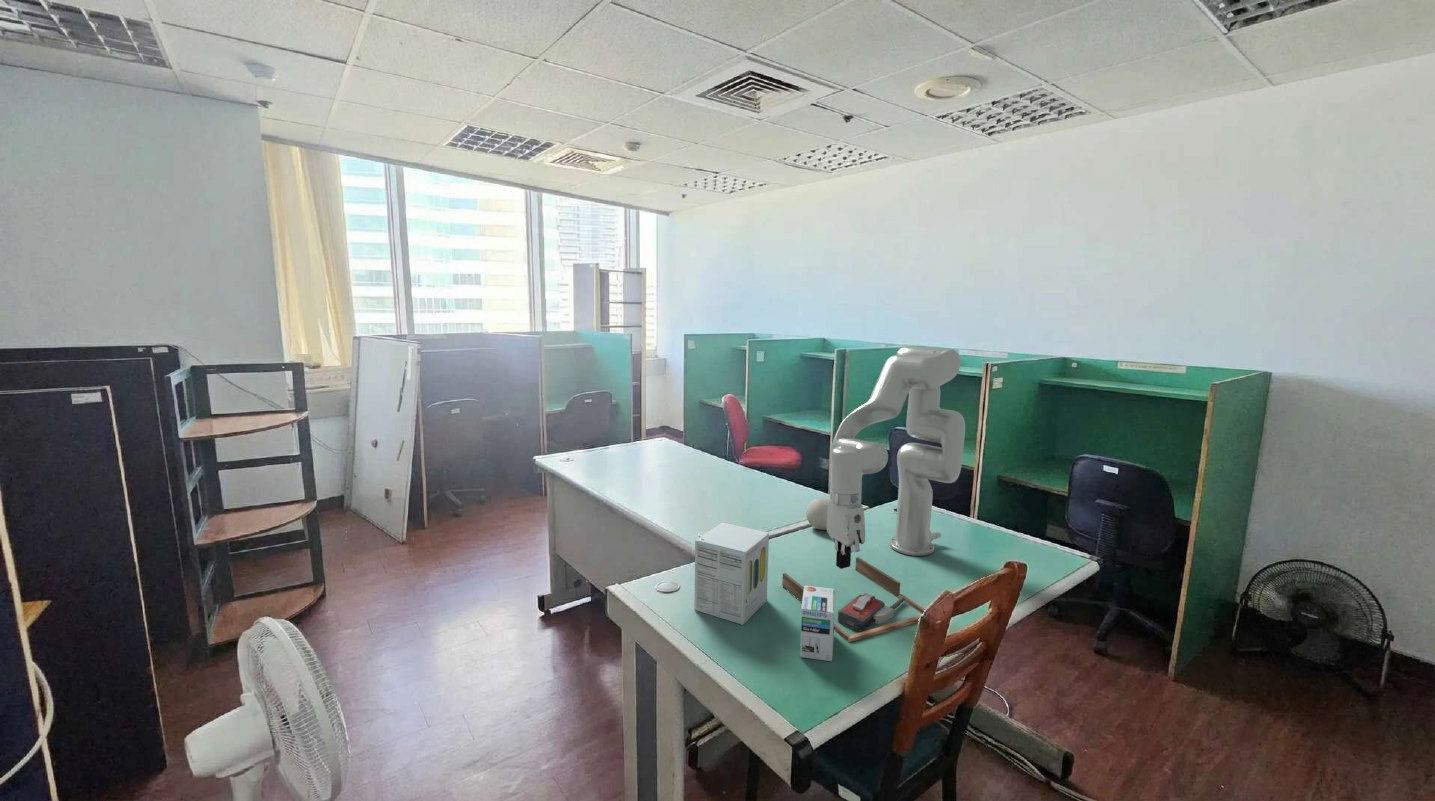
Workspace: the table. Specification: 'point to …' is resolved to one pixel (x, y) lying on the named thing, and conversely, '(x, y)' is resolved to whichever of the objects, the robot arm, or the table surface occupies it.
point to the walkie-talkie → (866, 612)
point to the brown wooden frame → (876, 577)
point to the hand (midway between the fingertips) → (843, 566)
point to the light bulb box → (817, 623)
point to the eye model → (818, 513)
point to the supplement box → (731, 572)
